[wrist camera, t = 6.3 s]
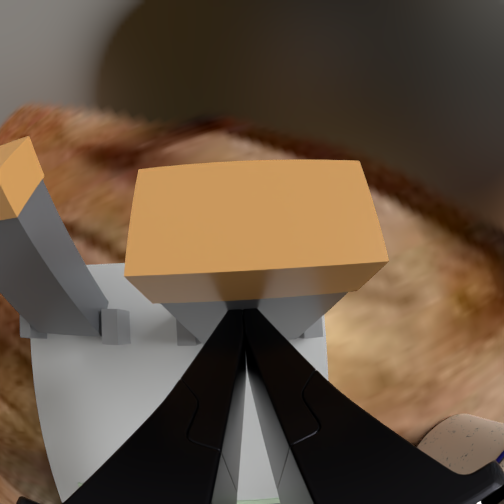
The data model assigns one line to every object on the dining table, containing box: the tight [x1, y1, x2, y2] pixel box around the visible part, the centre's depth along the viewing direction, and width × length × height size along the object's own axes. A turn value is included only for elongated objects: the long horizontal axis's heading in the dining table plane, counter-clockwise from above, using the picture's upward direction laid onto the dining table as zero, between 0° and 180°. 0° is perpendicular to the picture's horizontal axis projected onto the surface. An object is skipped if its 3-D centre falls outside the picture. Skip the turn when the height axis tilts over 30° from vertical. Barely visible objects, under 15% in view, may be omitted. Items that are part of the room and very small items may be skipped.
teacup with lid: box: [417, 414, 504, 474], centre depth 10 cm, size 12×9×12 cm
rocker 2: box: [124, 160, 389, 344], centre depth 11 cm, size 3×5×11 cm, turn 93°
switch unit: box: [20, 263, 328, 504], centre depth 15 cm, size 22×20×4 cm
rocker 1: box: [0, 136, 109, 337], centre depth 12 cm, size 3×5×11 cm, turn 94°
